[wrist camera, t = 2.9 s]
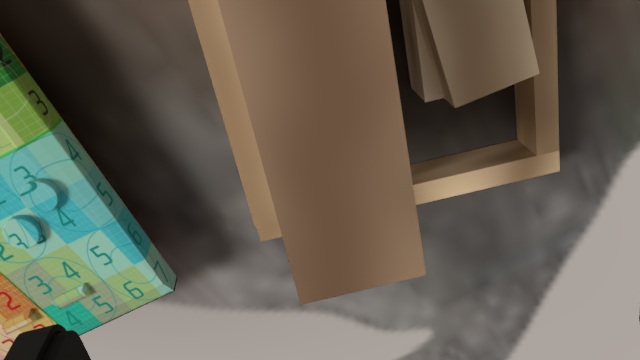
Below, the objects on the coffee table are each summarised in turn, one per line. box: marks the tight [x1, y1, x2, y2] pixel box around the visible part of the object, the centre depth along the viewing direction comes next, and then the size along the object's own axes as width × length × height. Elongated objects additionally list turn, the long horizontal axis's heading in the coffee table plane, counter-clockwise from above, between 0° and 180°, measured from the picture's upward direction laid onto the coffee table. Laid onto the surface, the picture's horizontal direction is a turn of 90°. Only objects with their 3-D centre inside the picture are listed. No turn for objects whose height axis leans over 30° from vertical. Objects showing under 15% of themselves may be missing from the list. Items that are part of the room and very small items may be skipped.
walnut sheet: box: [218, 0, 426, 305], centre depth 22 cm, size 4×10×14 cm, turn 12°
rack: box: [188, 0, 560, 241], centre depth 26 cm, size 16×18×5 cm
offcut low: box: [399, 0, 443, 102], centre depth 27 cm, size 5×8×3 cm, turn 12°
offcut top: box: [412, 0, 540, 108], centre depth 25 cm, size 4×6×2 cm, turn 22°
